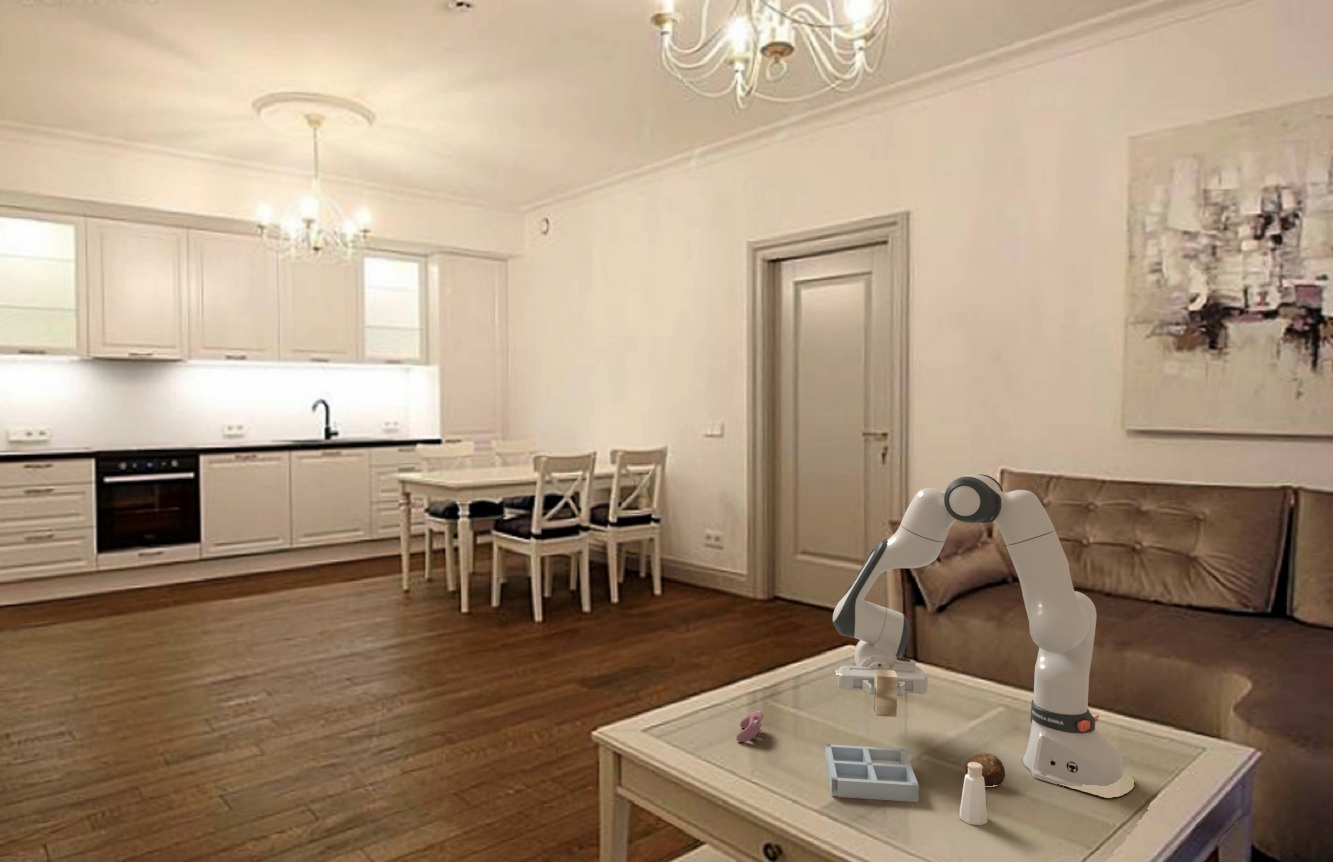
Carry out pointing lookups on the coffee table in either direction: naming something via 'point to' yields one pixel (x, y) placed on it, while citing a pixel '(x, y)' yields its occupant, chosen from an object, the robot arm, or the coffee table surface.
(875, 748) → the divided tray
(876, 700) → the birch block
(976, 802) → the pepper shaker
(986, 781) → the mushroom
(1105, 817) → the coffee table surface
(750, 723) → the video game controller
